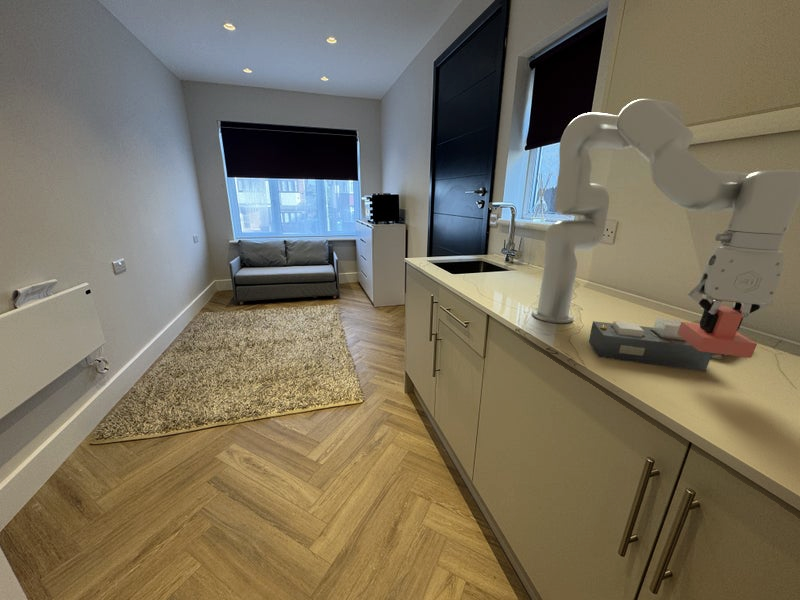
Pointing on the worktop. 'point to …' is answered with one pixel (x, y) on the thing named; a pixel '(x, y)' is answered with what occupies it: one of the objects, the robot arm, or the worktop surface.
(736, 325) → the cap
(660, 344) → the panel
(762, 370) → the worktop surface
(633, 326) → the button
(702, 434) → the worktop surface
